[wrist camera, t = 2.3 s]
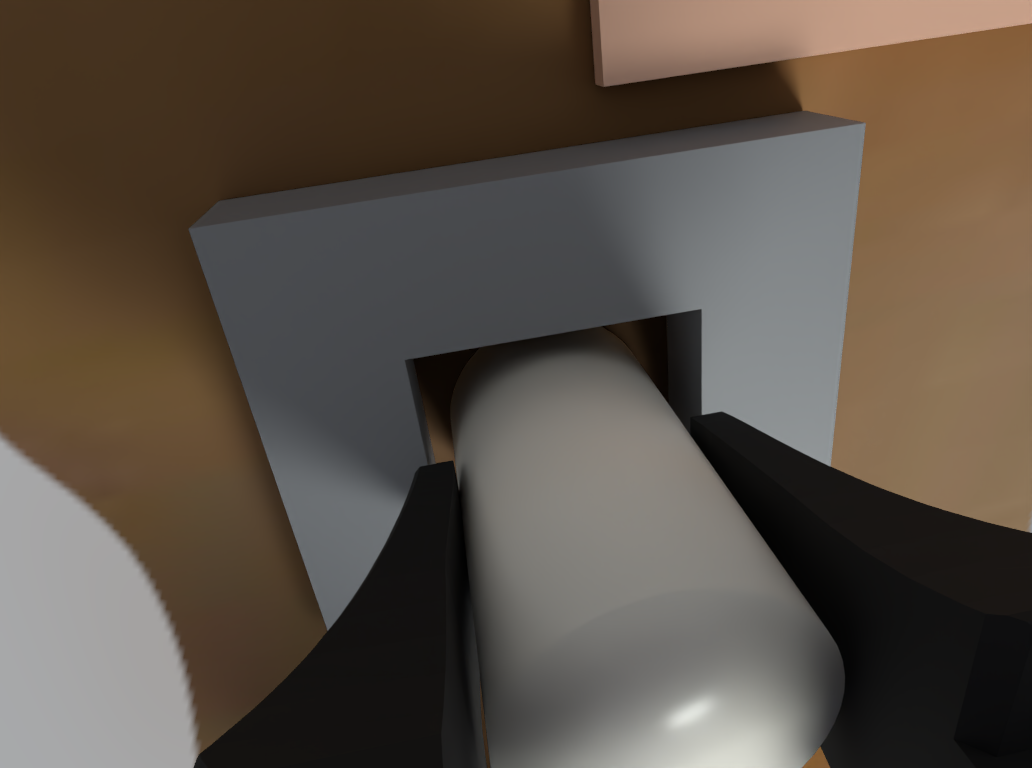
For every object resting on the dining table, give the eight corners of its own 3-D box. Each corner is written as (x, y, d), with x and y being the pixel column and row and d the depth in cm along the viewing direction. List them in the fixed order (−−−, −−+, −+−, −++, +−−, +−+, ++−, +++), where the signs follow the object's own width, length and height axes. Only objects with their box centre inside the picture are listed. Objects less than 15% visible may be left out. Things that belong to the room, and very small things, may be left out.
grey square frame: (776, 553, 18) (815, 609, 17) (358, 636, 18) (353, 704, 16) (804, 110, 13) (865, 122, 12) (218, 200, 13) (188, 228, 11)
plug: (649, 473, 17) (829, 799, 10) (467, 507, 16) (513, 870, 9) (642, 300, 15) (863, 553, 8) (433, 336, 14) (460, 634, 7)
